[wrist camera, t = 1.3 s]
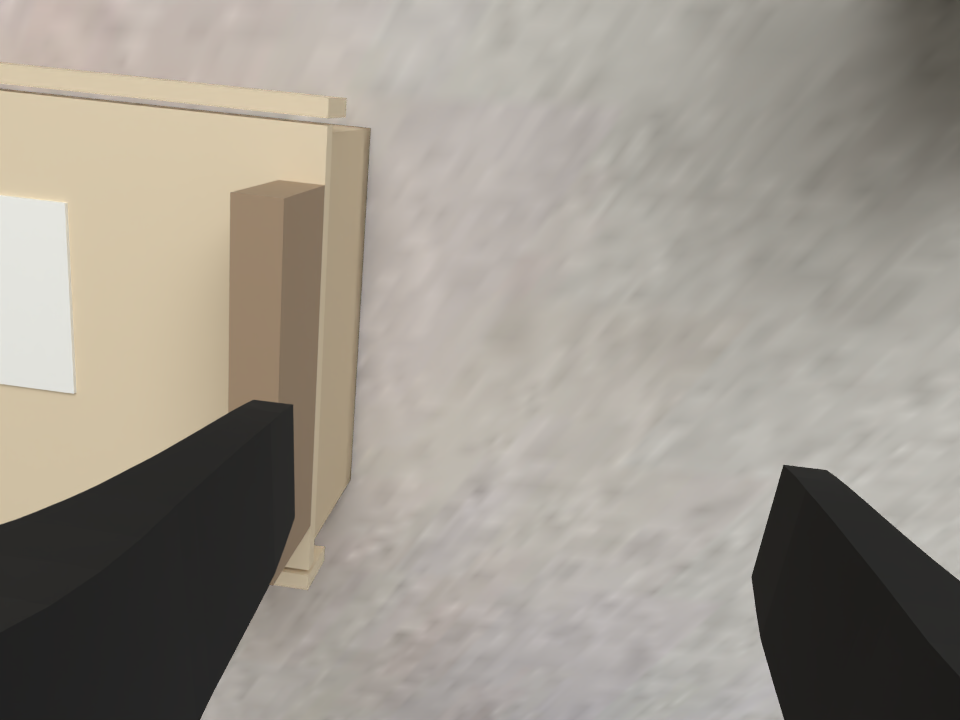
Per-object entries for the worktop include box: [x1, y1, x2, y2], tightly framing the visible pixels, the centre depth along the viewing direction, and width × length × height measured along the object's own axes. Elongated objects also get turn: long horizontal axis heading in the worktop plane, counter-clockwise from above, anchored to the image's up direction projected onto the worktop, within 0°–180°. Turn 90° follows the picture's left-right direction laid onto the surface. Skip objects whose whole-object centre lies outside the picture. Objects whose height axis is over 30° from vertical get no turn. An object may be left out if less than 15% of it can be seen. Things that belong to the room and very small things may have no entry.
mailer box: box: [0, 89, 371, 538], centre depth 22 cm, size 10×14×4 cm
